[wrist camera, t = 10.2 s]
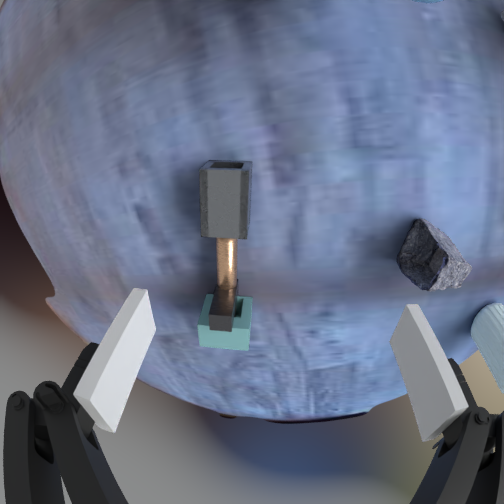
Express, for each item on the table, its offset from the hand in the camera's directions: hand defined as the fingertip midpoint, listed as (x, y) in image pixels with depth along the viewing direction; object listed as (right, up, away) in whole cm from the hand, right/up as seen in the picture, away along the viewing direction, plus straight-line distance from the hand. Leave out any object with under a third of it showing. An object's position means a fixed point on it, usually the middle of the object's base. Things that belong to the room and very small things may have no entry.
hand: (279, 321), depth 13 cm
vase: (+55, -12, +36) cm, 67 cm away
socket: (-5, -6, +37) cm, 38 cm away
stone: (+28, +5, +29) cm, 40 cm away
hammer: (-5, +1, +31) cm, 31 cm away
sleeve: (-4, +12, +27) cm, 29 cm away
